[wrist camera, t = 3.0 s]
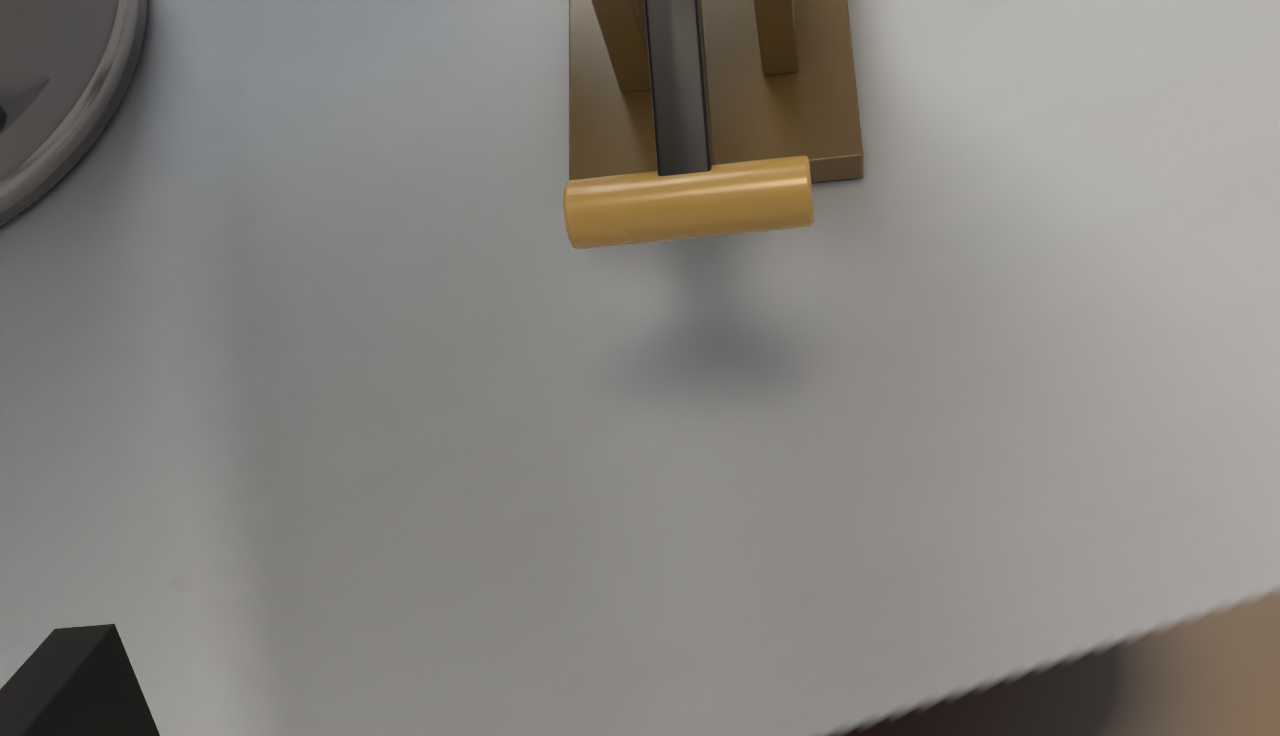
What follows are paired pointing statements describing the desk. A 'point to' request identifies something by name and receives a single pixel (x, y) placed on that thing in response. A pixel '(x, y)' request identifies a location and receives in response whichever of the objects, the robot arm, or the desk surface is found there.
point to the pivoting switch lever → (685, 160)
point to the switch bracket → (719, 86)
